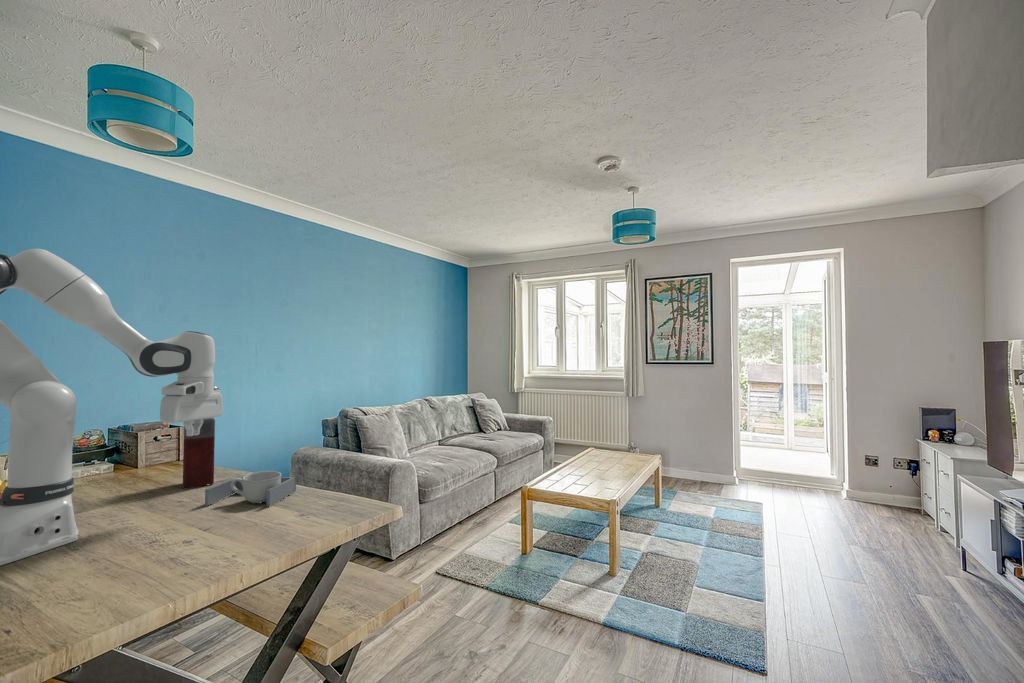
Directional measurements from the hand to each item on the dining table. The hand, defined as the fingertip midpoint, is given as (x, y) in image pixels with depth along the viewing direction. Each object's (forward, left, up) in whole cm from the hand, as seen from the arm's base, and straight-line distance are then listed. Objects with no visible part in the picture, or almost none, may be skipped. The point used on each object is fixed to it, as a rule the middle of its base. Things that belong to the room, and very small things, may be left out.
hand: (192, 435), depth 133 cm
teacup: (+12, -12, -22) cm, 28 cm away
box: (+13, -10, -22) cm, 28 cm away
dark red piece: (+31, +21, -22) cm, 44 cm away
